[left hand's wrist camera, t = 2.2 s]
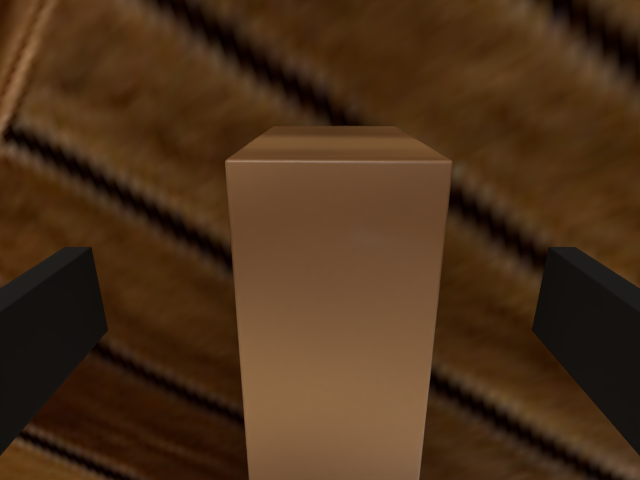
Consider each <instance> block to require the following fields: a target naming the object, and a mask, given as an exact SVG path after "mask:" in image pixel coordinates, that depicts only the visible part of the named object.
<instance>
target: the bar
mask: <svg viewBox="0 0 640 480" xmlns="http://www.w3.org/2000/svg"><path fill="white" fill-rule="evenodd" d="M452 167H453V162H452V160H450V159H448V158H447V157H445V156H443V155H442V154H440V153H438V152H437V151H435V150H433V149H432V148H430V147H428V146H426V145H425V144H423V143H421V142H420V141H418V140H416V139H415V138H413V137H411V136H410V135H408V134H406V133H405V132H403V131H401V130H400V129H398V128H396V127H395V126H273V127H271V128H270V129H269V130H267V131H266V132H264V133H263V134H262V135H260V136H259V137H257V138H256V139H255V140H253V141H252V142H250V143H249V144H248V145H246V146H245V147H243V148H242V149H241V150H239V151H238V152H236V153H235V154H234V155H232V156H231V157H229V158H228V159H227V160H226V161H225V170H226V183H227V197H228V210H229V223H230V236H231V249H232V262H233V275H234V289H235V302H236V315H237V328H238V341H239V354H240V368H241V381H242V394H243V407H244V420H245V433H246V447H247V460H248V473H249V480H419V477H420V467H421V458H422V449H423V439H424V430H425V420H426V411H427V402H428V392H429V383H430V373H431V364H432V355H433V345H434V336H435V326H436V317H437V308H438V298H439V289H440V279H441V270H442V261H443V251H444V242H445V232H446V223H447V214H448V204H449V195H450V186H451V176H452Z"/></svg>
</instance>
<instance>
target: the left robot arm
mask: <svg viewBox="0 0 640 480" xmlns="http://www.w3.org/2000/svg"><path fill="white" fill-rule="evenodd" d="M107 331H108V328H107V323H106V318H105V313H104V308H103V303H102V298H101V293H100V288H99V283H98V278H97V273H96V268H95V263H94V258H93V253H92V248H91V247H64V248H63V249H61V250H59V251H58V252H56V253H55V254H53V255H52V256H50V257H49V258H47V259H45V260H44V261H42V262H41V263H39V264H38V265H36V266H35V267H33V268H31V269H30V270H28V271H27V272H25V273H24V274H22V275H20V276H19V277H17V278H16V279H14V280H13V281H11V282H10V283H8V284H6V285H5V286H3V287H2V288H0V455H1V454H2V453H3V452H4V451H5V450H6V448H7V447H8V446H9V445H10V444H11V443H12V441H13V440H14V439H15V438H16V437H17V436H18V434H19V433H20V432H21V431H22V430H23V429H24V427H25V426H26V425H27V424H28V423H29V422H30V420H31V419H32V418H33V417H34V416H35V415H36V413H37V412H38V411H39V410H40V409H41V408H42V406H43V405H44V404H45V403H46V402H47V401H48V399H49V398H50V397H51V396H52V395H53V394H54V392H55V391H56V390H57V389H58V388H59V387H60V385H61V384H62V383H63V382H64V381H65V380H66V379H67V377H68V376H69V375H70V374H71V373H72V372H73V370H74V369H75V368H76V367H77V366H78V365H79V363H80V362H81V361H82V360H83V359H84V358H85V356H86V355H87V354H88V353H89V352H90V351H91V349H92V348H93V347H94V346H95V345H96V344H97V342H98V341H99V340H100V339H101V338H102V337H103V335H104V334H105V333H106V332H107ZM532 331H533V332H534V333H535V334H536V335H537V337H538V338H539V339H540V340H541V341H542V342H543V344H544V345H545V346H546V347H547V348H548V349H549V351H550V352H551V353H552V354H553V355H554V356H555V358H556V359H557V360H558V361H559V362H560V363H561V365H562V366H563V367H564V368H565V369H566V370H567V372H568V373H569V374H570V375H571V376H572V377H573V379H574V380H575V381H576V382H577V383H578V384H579V385H580V387H581V388H582V389H583V390H584V391H585V392H586V394H587V395H588V396H589V397H590V398H591V399H592V401H593V402H594V403H595V404H596V405H597V406H598V408H599V409H600V410H601V411H602V412H603V413H604V415H605V416H606V417H607V418H608V419H609V420H610V422H611V423H612V424H613V425H614V426H615V427H616V429H617V430H618V431H619V432H620V433H621V434H622V436H623V437H624V438H625V439H626V440H627V441H628V443H629V444H630V445H631V446H632V447H633V448H634V450H635V451H636V452H637V453H638V454H639V455H640V288H638V287H637V286H635V285H634V284H632V283H630V282H629V281H627V280H626V279H624V278H623V277H621V276H619V275H618V274H616V273H615V272H613V271H612V270H610V269H609V268H607V267H605V266H604V265H602V264H601V263H599V262H598V261H596V260H595V259H593V258H591V257H590V256H588V255H587V254H585V253H584V252H582V251H581V250H579V249H577V248H576V247H549V248H548V253H547V258H546V263H545V268H544V273H543V278H542V283H541V288H540V293H539V298H538V303H537V308H536V313H535V318H534V323H533V328H532Z"/></svg>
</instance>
